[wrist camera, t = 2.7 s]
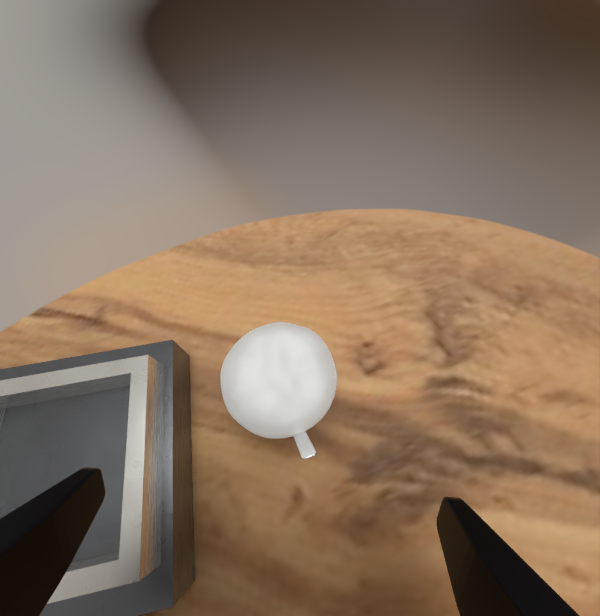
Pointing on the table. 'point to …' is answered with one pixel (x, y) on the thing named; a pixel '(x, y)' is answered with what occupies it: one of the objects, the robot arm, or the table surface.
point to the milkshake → (279, 382)
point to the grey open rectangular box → (109, 470)
